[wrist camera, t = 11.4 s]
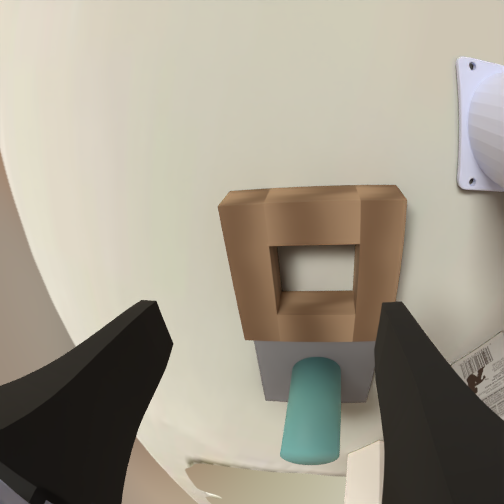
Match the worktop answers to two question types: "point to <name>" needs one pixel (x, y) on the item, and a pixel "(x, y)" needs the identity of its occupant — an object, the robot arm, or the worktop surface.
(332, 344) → the mat
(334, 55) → the worktop surface
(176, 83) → the worktop surface
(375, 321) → the socket block
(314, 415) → the plug
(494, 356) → the coffee box
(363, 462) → the milk
